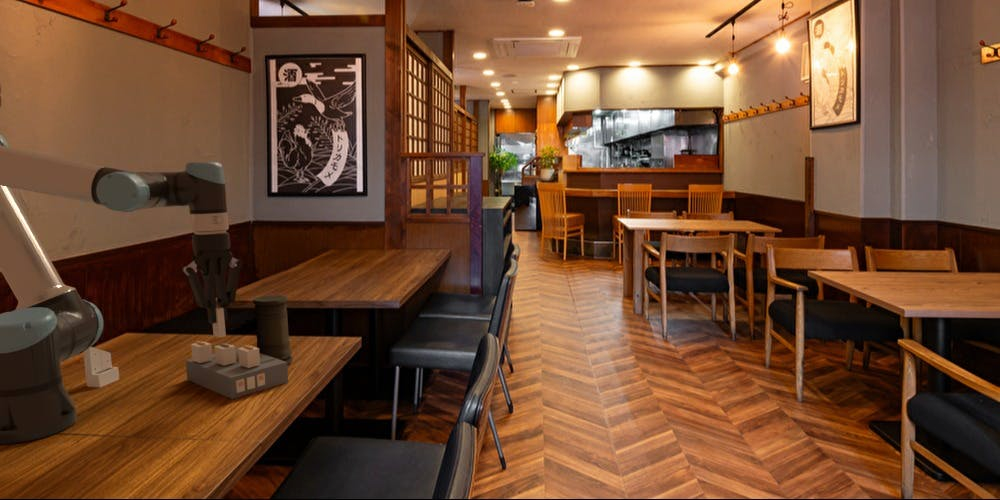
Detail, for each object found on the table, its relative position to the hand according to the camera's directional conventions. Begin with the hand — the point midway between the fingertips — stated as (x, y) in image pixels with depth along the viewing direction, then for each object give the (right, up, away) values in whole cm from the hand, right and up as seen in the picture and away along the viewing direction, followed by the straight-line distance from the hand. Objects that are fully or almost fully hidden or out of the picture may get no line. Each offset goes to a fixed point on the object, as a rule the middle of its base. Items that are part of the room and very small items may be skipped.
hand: (219, 336), depth 136 cm
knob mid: (-3, -8, +9) cm, 12 cm away
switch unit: (-1, -13, +11) cm, 17 cm away
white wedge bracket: (-34, -13, +11) cm, 38 cm away
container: (+3, -11, +24) cm, 27 cm away
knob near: (+4, -8, +6) cm, 11 cm away
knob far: (-9, -7, +11) cm, 16 cm away
